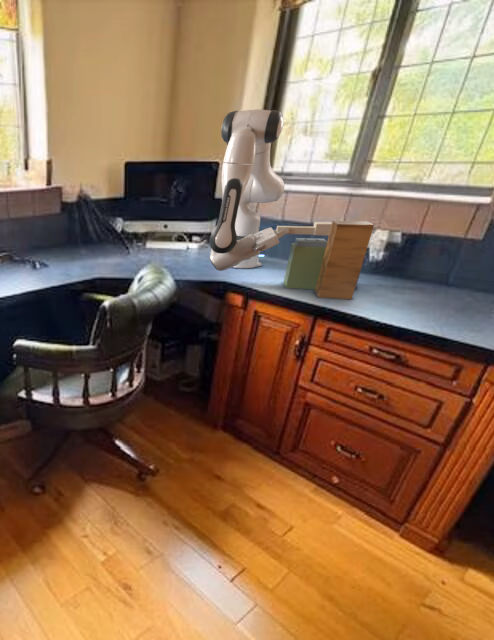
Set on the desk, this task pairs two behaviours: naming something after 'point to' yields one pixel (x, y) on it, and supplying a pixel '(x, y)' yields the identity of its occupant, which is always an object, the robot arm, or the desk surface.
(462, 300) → the desk surface
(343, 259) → the oak stand
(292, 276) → the green upright rectangular block
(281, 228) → the beige stepped bar
